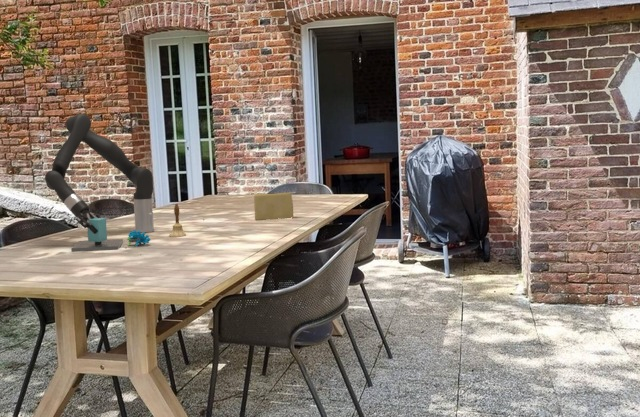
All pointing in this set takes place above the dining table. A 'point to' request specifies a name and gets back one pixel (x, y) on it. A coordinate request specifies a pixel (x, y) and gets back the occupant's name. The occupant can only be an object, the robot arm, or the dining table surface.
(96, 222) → the cap
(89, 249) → the mount plate
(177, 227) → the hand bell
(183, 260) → the dining table surface
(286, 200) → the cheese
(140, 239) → the blue spiky toy
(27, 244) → the dining table surface
